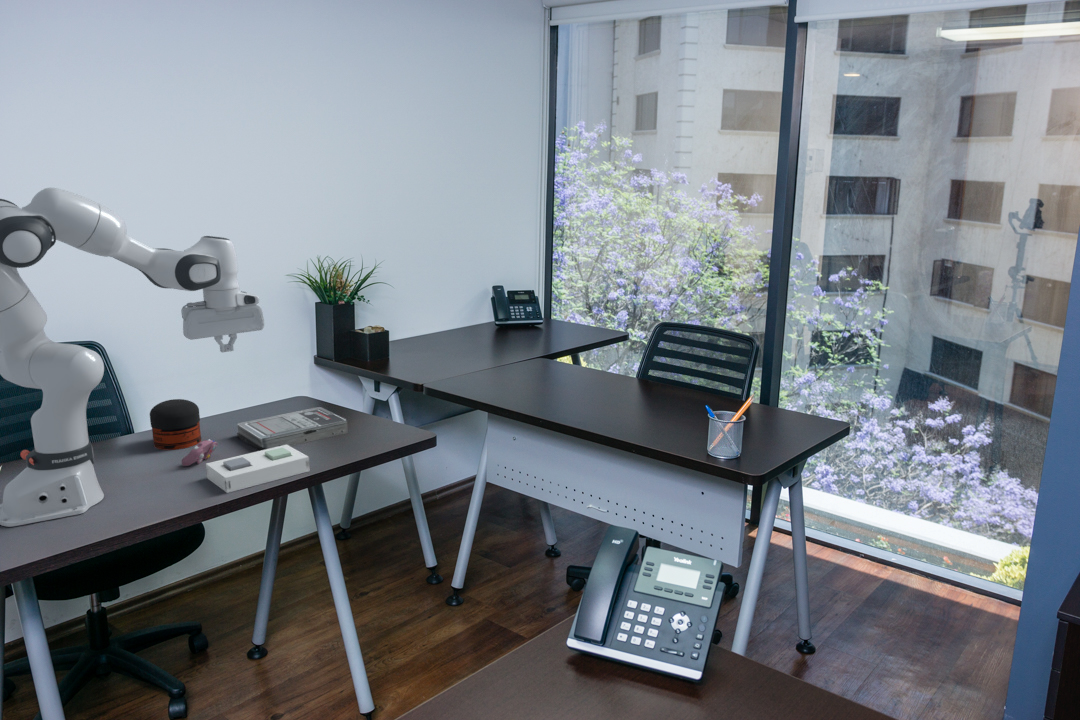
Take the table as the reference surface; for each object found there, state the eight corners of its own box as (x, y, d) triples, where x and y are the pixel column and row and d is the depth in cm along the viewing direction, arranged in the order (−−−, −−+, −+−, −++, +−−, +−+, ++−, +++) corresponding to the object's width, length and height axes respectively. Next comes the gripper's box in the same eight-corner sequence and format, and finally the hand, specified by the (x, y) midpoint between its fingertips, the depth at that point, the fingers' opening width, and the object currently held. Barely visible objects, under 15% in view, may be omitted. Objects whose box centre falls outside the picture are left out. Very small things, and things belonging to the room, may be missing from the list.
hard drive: (237, 437, 240) (236, 423, 239) (321, 419, 257) (320, 406, 256) (261, 454, 227) (260, 439, 226) (349, 434, 244) (348, 420, 243)
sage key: (273, 467, 210) (272, 456, 209) (265, 462, 214) (264, 451, 213) (291, 462, 213) (291, 452, 213) (283, 457, 217) (282, 447, 216)
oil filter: (144, 443, 234) (167, 453, 226) (140, 403, 231) (162, 411, 223) (187, 432, 244) (210, 441, 236) (183, 393, 241) (206, 401, 233)
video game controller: (193, 473, 216) (201, 452, 214) (178, 464, 216) (187, 443, 214) (214, 460, 225) (222, 439, 223) (200, 452, 225) (208, 431, 223)
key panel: (227, 493, 199) (225, 477, 198) (207, 478, 208) (205, 463, 207) (309, 471, 213) (308, 456, 212) (287, 458, 222) (286, 444, 221)
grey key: (231, 478, 203) (230, 466, 202) (224, 472, 207) (223, 461, 206) (251, 473, 206) (250, 462, 206) (243, 467, 210) (242, 457, 209)
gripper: (185, 305, 199) (190, 359, 202) (264, 296, 212) (268, 347, 215) (176, 302, 203) (181, 355, 207) (254, 293, 217) (258, 343, 220)
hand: (226, 351), depth 211 cm, fingers closed
